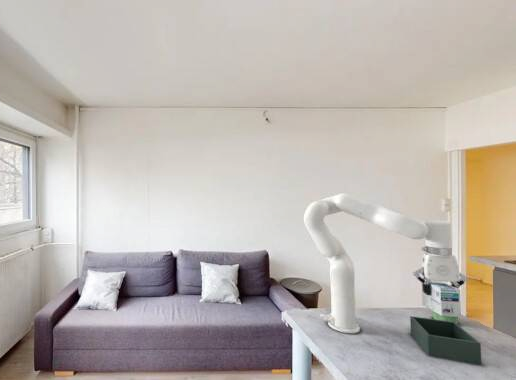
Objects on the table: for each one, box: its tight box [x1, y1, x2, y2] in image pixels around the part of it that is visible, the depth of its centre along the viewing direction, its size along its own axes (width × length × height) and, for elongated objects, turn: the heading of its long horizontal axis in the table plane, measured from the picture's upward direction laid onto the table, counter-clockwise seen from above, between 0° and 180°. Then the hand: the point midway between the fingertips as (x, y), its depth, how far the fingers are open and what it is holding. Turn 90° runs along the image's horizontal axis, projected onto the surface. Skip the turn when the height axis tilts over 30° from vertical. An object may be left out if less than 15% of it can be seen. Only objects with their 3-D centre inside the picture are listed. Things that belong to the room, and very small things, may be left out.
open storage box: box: [409, 315, 482, 366], centre depth 105 cm, size 15×17×8 cm
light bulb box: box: [421, 280, 462, 318], centre depth 105 cm, size 11×7×11 cm, turn 169°
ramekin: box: [432, 311, 459, 324], centre depth 125 cm, size 9×9×4 cm
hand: (440, 295), depth 105 cm, fingers closed on light bulb box, 7 cm apart
